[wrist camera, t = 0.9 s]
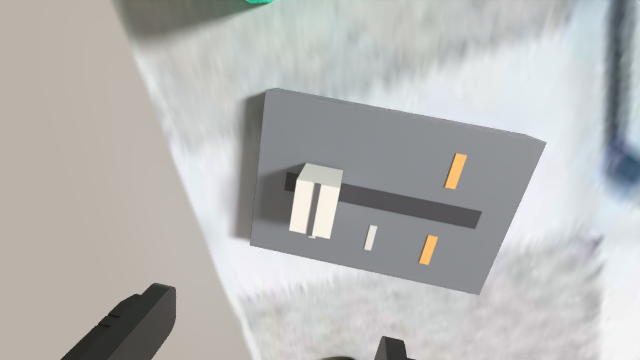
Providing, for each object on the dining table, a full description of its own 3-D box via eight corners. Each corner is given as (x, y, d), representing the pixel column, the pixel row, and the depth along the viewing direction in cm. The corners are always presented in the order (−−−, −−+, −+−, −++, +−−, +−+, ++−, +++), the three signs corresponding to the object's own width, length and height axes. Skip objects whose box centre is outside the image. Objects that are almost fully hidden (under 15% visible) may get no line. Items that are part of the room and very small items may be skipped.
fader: (306, 162, 24) (296, 179, 21) (343, 169, 24) (340, 188, 20) (299, 207, 26) (288, 231, 22) (333, 215, 26) (329, 240, 22)
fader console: (275, 88, 26) (265, 90, 23) (525, 134, 25) (547, 142, 22) (259, 229, 31) (249, 245, 28) (467, 274, 30) (479, 295, 27)
